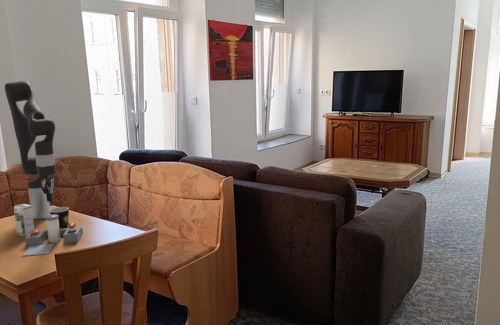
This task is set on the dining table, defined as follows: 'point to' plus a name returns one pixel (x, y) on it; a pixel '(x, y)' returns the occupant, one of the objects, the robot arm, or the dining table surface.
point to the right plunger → (71, 227)
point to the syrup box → (23, 219)
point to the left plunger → (34, 232)
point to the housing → (63, 232)
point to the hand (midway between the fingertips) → (50, 201)
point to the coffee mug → (61, 216)
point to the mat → (38, 250)
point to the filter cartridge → (53, 228)
